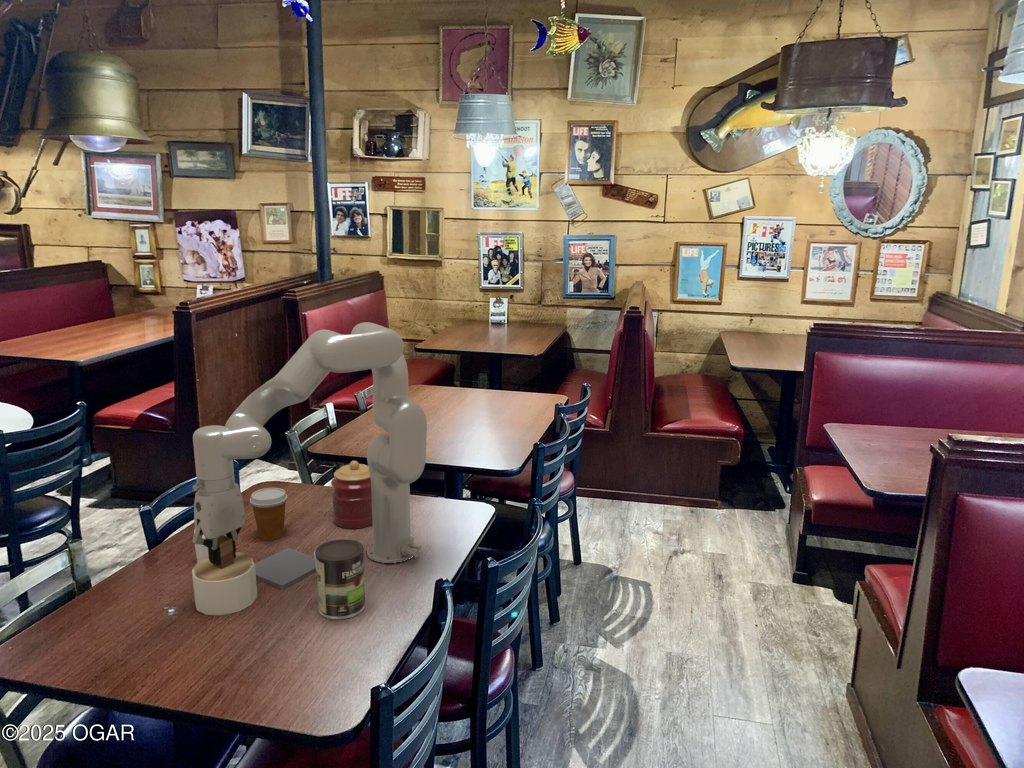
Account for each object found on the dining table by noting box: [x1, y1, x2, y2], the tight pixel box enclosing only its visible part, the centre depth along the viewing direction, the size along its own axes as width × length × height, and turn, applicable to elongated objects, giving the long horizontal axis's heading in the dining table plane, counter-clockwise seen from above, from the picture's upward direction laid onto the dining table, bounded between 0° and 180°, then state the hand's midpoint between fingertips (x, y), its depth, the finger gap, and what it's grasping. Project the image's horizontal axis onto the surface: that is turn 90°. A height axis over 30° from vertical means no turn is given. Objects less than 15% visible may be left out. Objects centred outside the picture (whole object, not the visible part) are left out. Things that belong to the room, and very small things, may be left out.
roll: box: [193, 529, 209, 563], centre depth 184 cm, size 6×12×6 cm
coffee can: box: [314, 538, 366, 620], centre depth 163 cm, size 10×10×14 cm
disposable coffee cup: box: [249, 487, 288, 541], centre depth 198 cm, size 10×10×12 cm
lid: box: [193, 534, 253, 581], centre depth 164 cm, size 12×12×7 cm
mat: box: [254, 547, 317, 590], centre depth 181 cm, size 14×14×1 cm
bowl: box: [191, 558, 258, 616], centre depth 166 cm, size 13×13×8 cm
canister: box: [330, 460, 373, 529], centre depth 207 cm, size 13×13×18 cm
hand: (223, 559), depth 164 cm, fingers closed on lid, 3 cm apart
